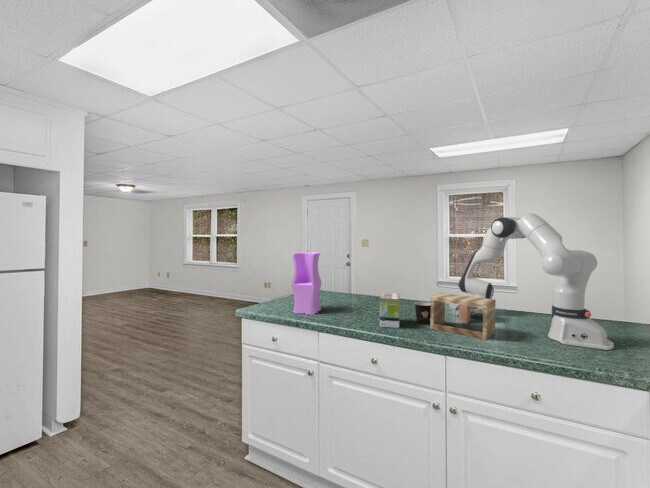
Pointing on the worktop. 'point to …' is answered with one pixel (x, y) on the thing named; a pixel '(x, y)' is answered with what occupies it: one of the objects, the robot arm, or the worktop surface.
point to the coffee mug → (423, 312)
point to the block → (464, 313)
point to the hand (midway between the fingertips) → (464, 310)
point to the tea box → (389, 310)
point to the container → (306, 282)
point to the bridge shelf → (486, 304)
